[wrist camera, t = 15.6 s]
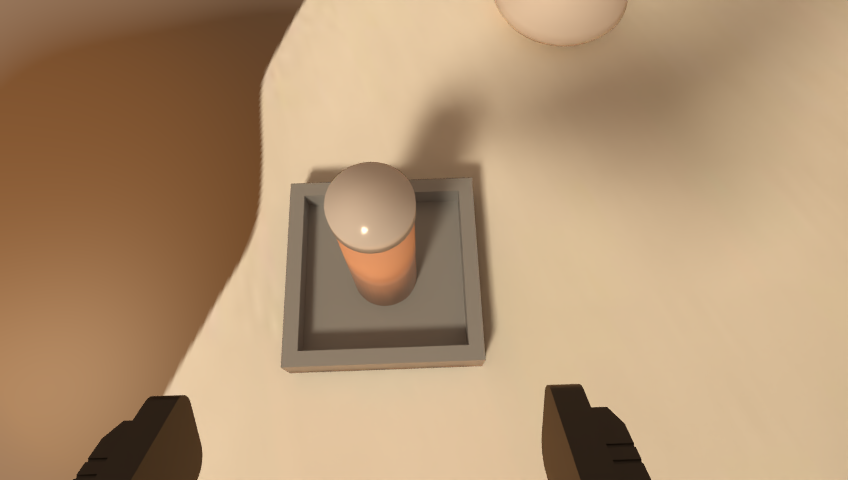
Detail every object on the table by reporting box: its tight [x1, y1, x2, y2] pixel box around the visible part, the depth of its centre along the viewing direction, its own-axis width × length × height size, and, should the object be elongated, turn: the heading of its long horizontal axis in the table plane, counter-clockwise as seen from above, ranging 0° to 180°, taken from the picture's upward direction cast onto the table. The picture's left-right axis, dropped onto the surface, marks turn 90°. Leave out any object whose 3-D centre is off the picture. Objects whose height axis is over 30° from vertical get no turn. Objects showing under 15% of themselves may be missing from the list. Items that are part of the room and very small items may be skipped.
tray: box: [281, 178, 486, 373], centre depth 39 cm, size 13×13×2 cm
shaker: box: [324, 162, 417, 306], centre depth 34 cm, size 5×5×12 cm
